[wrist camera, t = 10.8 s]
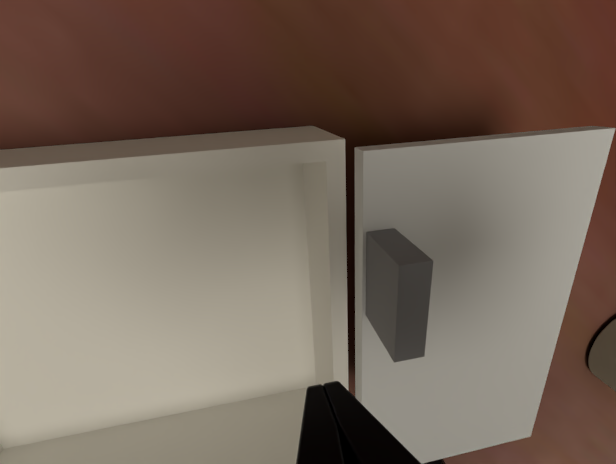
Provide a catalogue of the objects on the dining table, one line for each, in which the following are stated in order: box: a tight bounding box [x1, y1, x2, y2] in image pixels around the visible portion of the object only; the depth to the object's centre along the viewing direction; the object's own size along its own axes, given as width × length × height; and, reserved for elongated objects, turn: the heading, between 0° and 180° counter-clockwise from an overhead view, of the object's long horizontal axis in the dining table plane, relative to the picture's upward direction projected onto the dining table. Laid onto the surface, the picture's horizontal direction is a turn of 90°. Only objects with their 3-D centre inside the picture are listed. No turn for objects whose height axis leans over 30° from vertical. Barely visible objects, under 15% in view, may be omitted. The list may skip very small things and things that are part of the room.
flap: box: [355, 126, 615, 464], centre depth 16 cm, size 18×11×4 cm, turn 3°
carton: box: [0, 126, 348, 464], centre depth 18 cm, size 19×22×6 cm
